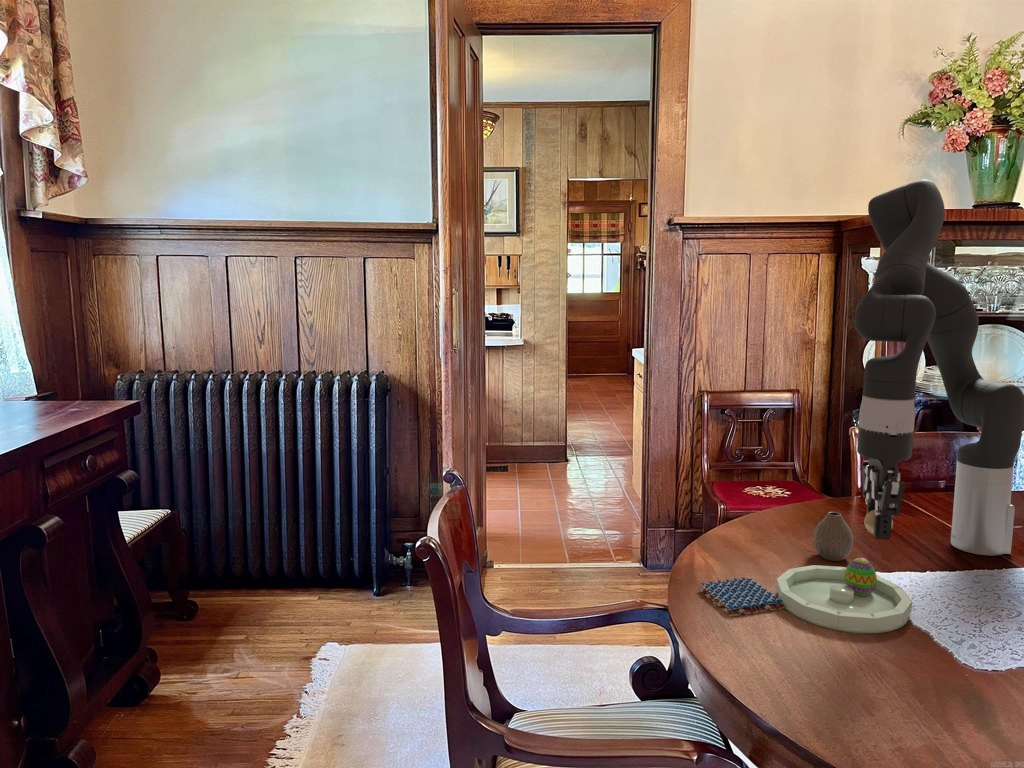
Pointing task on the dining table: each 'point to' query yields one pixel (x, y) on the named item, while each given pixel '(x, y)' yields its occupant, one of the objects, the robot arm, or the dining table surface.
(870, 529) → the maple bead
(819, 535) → the vase
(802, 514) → the dining table surface
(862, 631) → the groove dish
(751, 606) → the woven mat
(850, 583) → the egg
